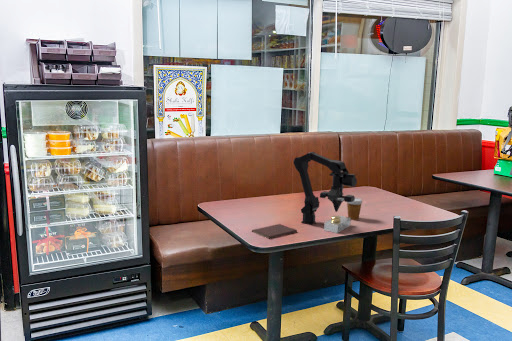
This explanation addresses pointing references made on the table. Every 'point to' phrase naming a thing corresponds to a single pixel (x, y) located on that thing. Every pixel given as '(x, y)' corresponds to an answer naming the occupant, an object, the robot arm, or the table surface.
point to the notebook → (274, 231)
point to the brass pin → (335, 219)
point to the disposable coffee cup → (354, 209)
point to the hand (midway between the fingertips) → (336, 211)
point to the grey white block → (337, 224)
